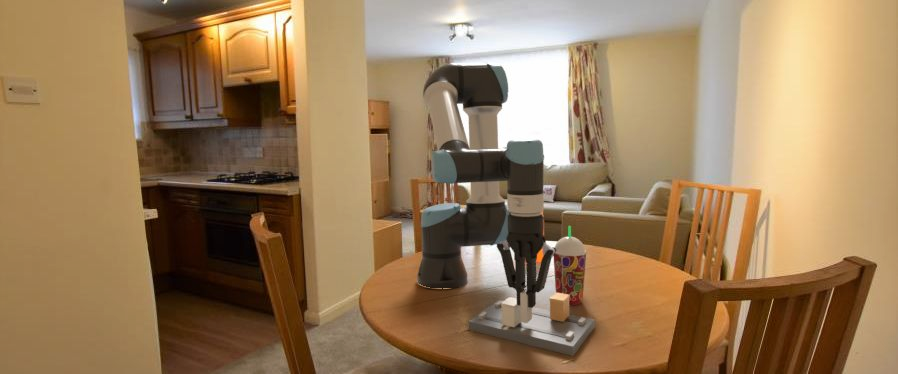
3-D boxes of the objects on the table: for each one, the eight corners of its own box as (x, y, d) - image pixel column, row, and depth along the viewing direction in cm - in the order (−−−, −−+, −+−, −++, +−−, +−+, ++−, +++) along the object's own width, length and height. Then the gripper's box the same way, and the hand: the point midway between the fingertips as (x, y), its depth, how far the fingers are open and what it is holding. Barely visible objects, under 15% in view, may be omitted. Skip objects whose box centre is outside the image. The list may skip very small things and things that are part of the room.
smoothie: (580, 310, 110) (581, 230, 108) (548, 304, 115) (548, 227, 112) (589, 299, 117) (590, 224, 115) (558, 293, 122) (558, 221, 119)
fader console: (468, 329, 101) (468, 317, 101) (499, 307, 113) (498, 296, 113) (572, 356, 88) (573, 342, 87) (594, 327, 100) (594, 315, 100)
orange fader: (549, 319, 100) (549, 298, 99) (556, 312, 103) (556, 292, 103) (563, 322, 98) (563, 300, 98) (569, 315, 102) (569, 294, 101)
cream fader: (501, 324, 98) (500, 303, 97) (509, 317, 101) (509, 297, 101) (514, 327, 96) (514, 305, 95) (522, 320, 99) (522, 299, 99)
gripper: (489, 213, 94) (491, 320, 97) (548, 218, 87) (548, 333, 90) (505, 208, 100) (506, 308, 103) (561, 212, 93) (561, 320, 96)
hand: (526, 320), depth 97 cm, fingers closed
